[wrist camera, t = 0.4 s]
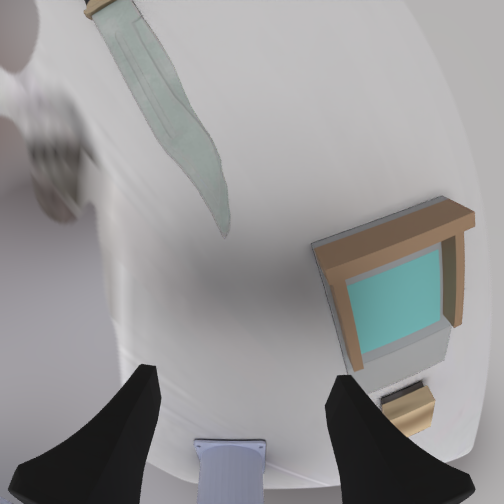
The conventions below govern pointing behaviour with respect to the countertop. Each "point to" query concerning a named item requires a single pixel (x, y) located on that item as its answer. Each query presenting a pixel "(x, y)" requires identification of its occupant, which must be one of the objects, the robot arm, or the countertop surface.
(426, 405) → the tan cardboard box
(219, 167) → the knife
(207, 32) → the countertop surface
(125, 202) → the countertop surface
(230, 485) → the robot arm
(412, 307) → the bay pad
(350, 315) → the dock
